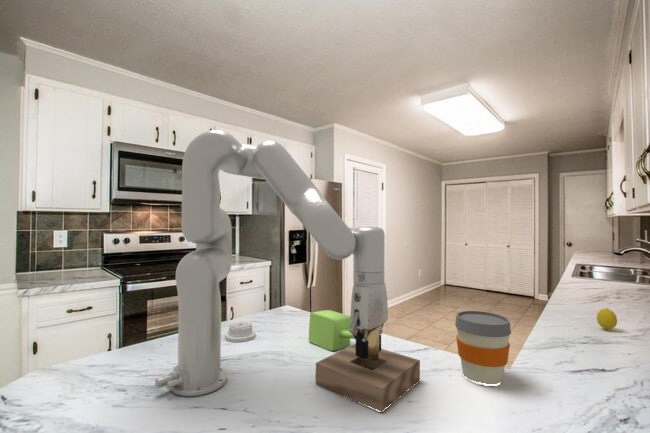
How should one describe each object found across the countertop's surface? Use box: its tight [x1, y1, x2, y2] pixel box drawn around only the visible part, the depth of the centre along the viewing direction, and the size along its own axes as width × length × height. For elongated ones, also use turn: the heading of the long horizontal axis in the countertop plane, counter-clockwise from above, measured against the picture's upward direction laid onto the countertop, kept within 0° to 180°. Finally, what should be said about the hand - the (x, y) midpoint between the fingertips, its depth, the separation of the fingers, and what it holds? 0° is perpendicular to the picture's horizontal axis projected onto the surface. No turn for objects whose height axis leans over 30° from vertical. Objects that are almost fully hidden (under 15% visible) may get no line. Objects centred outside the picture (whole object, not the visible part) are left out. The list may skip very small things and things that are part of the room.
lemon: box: [596, 307, 618, 331], centre depth 118 cm, size 6×6×8 cm
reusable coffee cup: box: [454, 310, 512, 384], centre depth 81 cm, size 13×13×15 cm
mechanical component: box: [224, 320, 257, 343], centre depth 108 cm, size 10×4×10 cm
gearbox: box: [308, 309, 355, 352], centre depth 103 cm, size 18×10×10 cm, turn 45°
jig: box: [315, 343, 421, 412], centre depth 78 cm, size 18×18×5 cm
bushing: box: [359, 325, 379, 361], centre depth 78 cm, size 5×5×7 cm
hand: (368, 352), depth 78 cm, fingers closed on bushing, 5 cm apart
